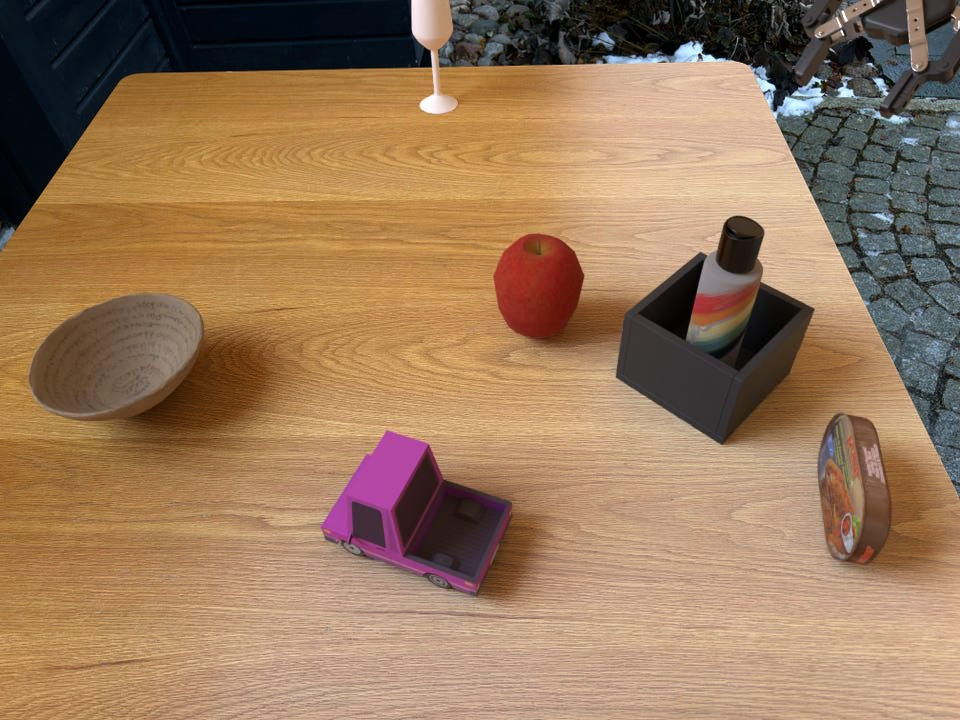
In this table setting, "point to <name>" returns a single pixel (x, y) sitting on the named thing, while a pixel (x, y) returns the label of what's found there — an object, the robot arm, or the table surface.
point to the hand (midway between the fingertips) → (840, 97)
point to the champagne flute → (433, 46)
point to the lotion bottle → (727, 290)
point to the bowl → (117, 357)
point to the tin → (853, 490)
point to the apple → (538, 285)
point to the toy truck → (418, 517)
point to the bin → (694, 373)
